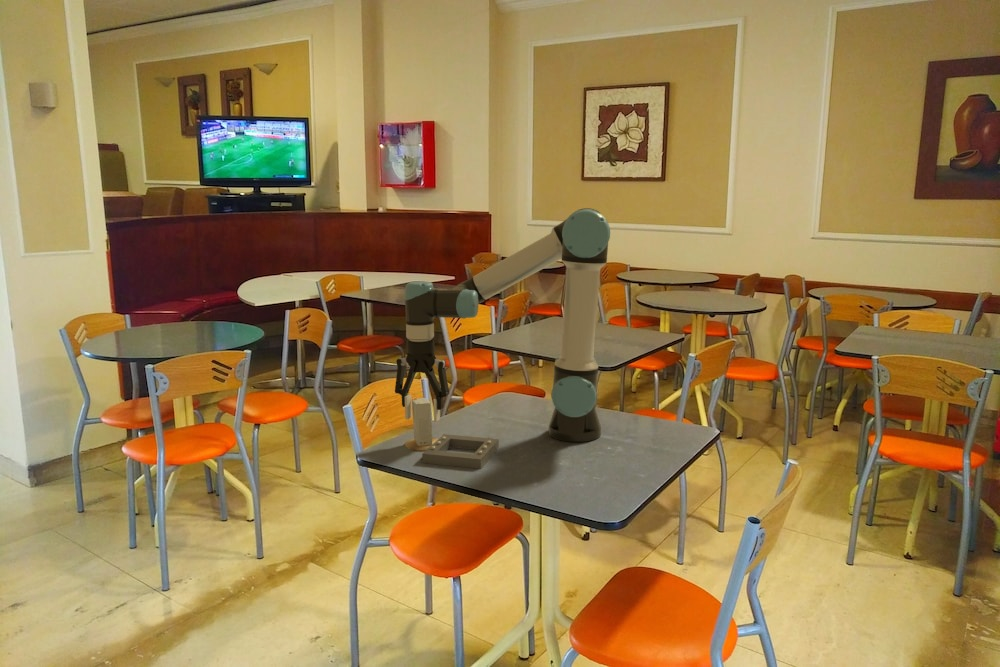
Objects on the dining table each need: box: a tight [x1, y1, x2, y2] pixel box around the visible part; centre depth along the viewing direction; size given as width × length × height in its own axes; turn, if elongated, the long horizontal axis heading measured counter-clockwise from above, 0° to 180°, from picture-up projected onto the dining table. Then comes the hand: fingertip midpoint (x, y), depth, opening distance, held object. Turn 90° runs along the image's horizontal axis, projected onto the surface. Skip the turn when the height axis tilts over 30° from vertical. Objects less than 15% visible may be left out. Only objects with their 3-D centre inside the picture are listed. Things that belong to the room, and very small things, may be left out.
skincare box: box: [411, 397, 433, 446], centre depth 206 cm, size 6×4×12 cm
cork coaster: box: [404, 436, 439, 452], centre depth 207 cm, size 10×10×1 cm
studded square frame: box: [422, 434, 500, 469], centre depth 199 cm, size 16×16×3 cm
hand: (422, 419), depth 206 cm, fingers open, 8 cm apart
